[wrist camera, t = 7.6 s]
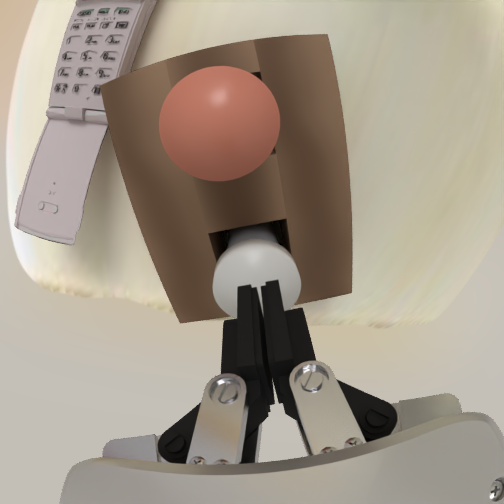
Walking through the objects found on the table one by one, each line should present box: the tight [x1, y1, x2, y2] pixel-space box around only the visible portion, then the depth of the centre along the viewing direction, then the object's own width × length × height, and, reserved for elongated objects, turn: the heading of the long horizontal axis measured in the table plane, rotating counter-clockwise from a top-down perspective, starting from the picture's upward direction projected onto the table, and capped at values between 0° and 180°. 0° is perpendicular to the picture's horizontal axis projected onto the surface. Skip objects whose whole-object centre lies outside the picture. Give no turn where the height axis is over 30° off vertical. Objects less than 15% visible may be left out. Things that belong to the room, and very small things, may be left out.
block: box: [100, 34, 352, 323], centre depth 16 cm, size 12×16×5 cm
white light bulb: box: [213, 221, 301, 319], centre depth 17 cm, size 4×4×7 cm
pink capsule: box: [159, 66, 280, 181], centre depth 12 cm, size 4×4×7 cm
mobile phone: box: [15, 0, 157, 245], centre depth 11 cm, size 6×6×25 cm
